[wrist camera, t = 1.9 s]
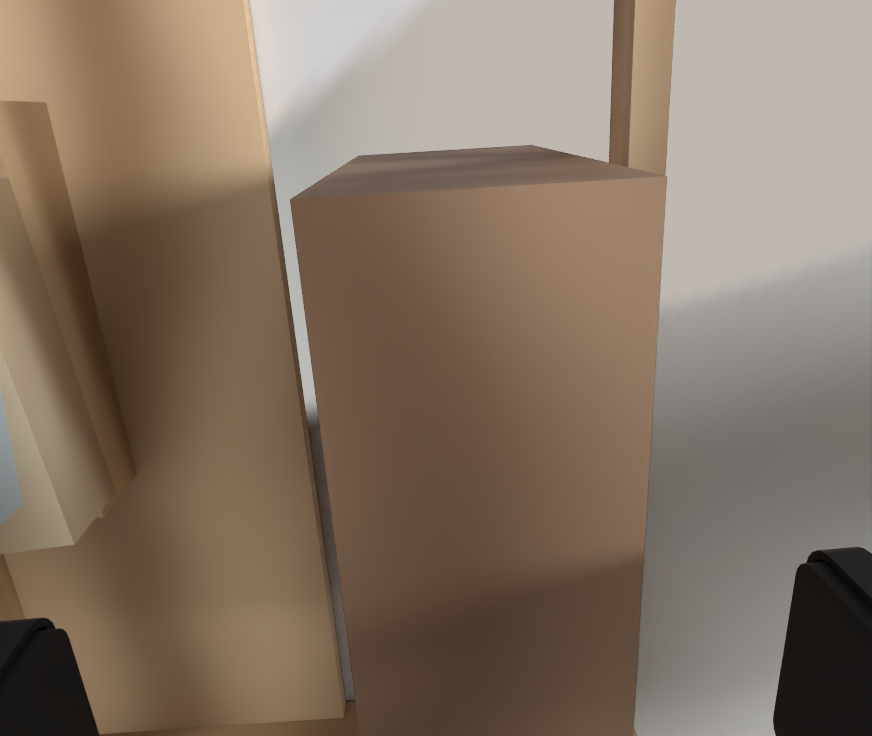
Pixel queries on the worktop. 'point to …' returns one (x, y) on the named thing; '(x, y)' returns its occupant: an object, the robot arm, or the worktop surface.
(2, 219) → the offcut
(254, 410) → the tray
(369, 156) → the brown rectangular block
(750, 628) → the worktop surface
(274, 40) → the worktop surface
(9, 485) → the offcut
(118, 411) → the offcut
